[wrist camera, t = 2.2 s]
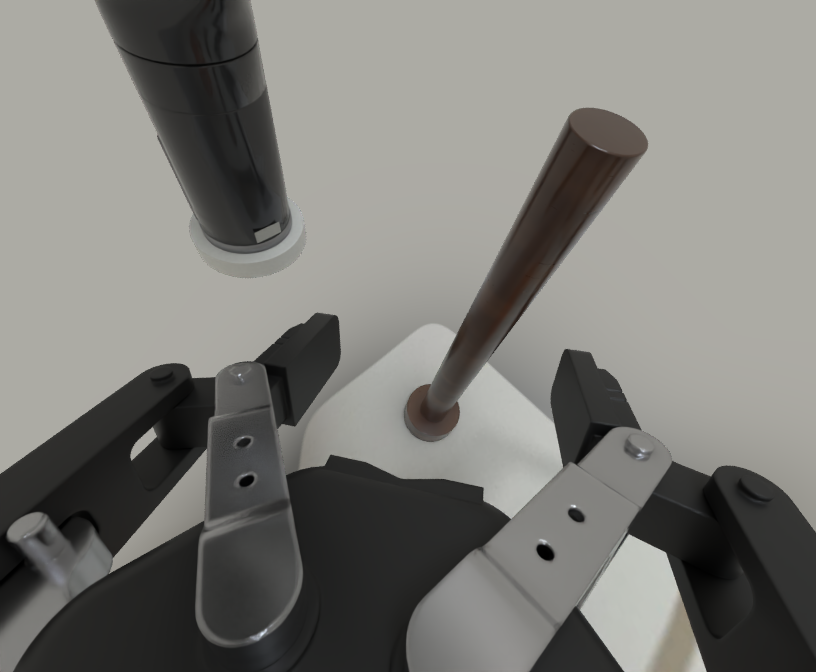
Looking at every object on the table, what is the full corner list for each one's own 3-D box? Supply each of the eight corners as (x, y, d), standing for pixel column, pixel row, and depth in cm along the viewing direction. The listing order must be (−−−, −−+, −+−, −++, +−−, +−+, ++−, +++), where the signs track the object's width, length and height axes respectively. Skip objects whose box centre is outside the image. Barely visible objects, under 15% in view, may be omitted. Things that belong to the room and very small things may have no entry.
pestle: (394, 422, 32) (502, 129, 9) (420, 382, 35) (557, 70, 12) (439, 452, 32) (677, 211, 9) (462, 409, 34) (698, 130, 11)
